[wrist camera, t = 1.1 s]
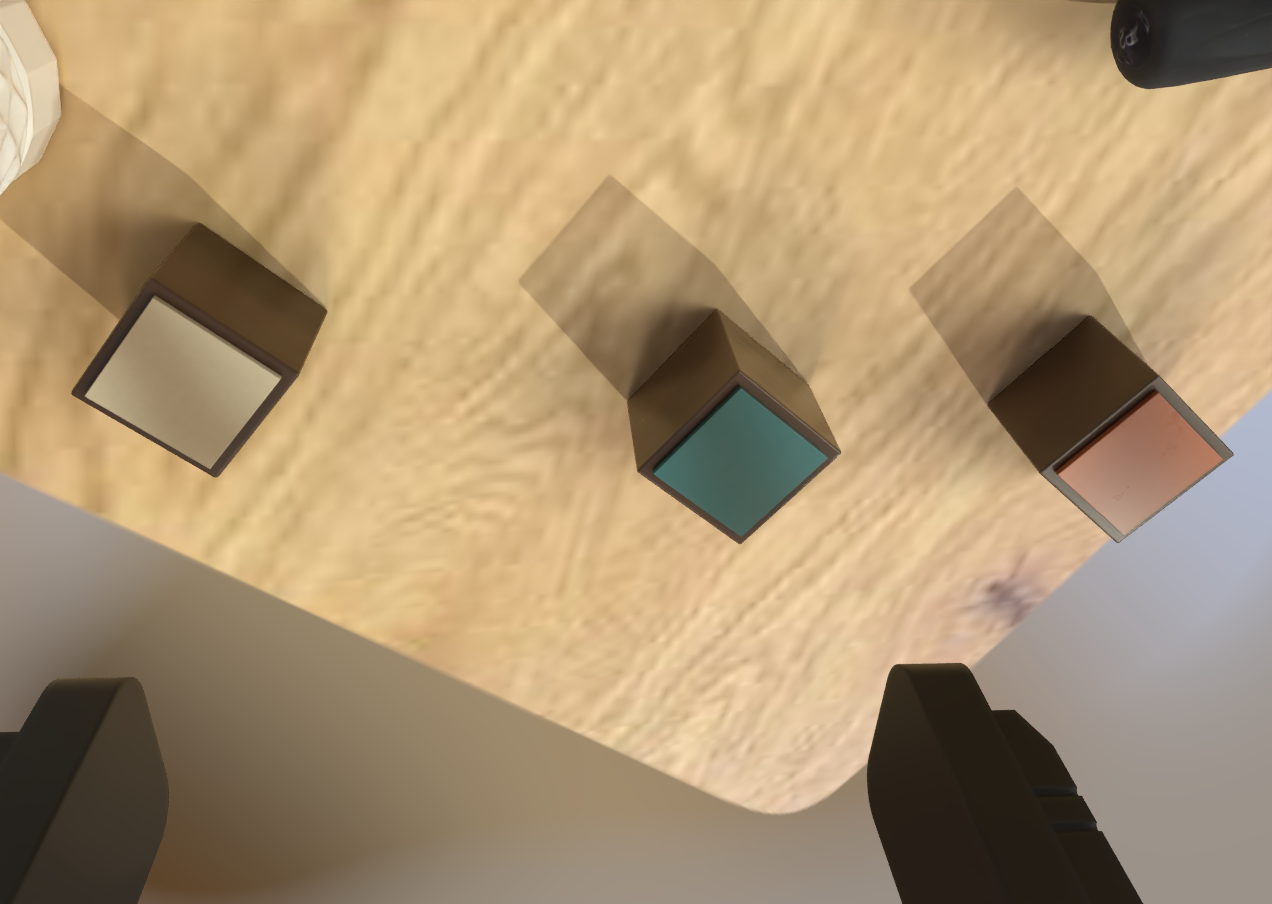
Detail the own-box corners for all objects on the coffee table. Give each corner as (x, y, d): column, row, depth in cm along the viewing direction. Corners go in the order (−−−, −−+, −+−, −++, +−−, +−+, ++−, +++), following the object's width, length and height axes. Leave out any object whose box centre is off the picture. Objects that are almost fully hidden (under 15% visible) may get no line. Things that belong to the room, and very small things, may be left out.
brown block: (199, 220, 30) (147, 280, 26) (329, 309, 32) (298, 377, 28) (125, 326, 32) (66, 398, 28) (253, 406, 34) (214, 483, 30)
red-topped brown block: (1090, 314, 34) (1162, 377, 30) (1161, 389, 36) (1239, 458, 32) (986, 404, 36) (1041, 476, 32) (1059, 471, 38) (1121, 547, 34)
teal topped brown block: (717, 307, 33) (740, 373, 29) (809, 385, 35) (844, 456, 31) (626, 401, 35) (636, 475, 31) (719, 470, 36) (741, 549, 32)
